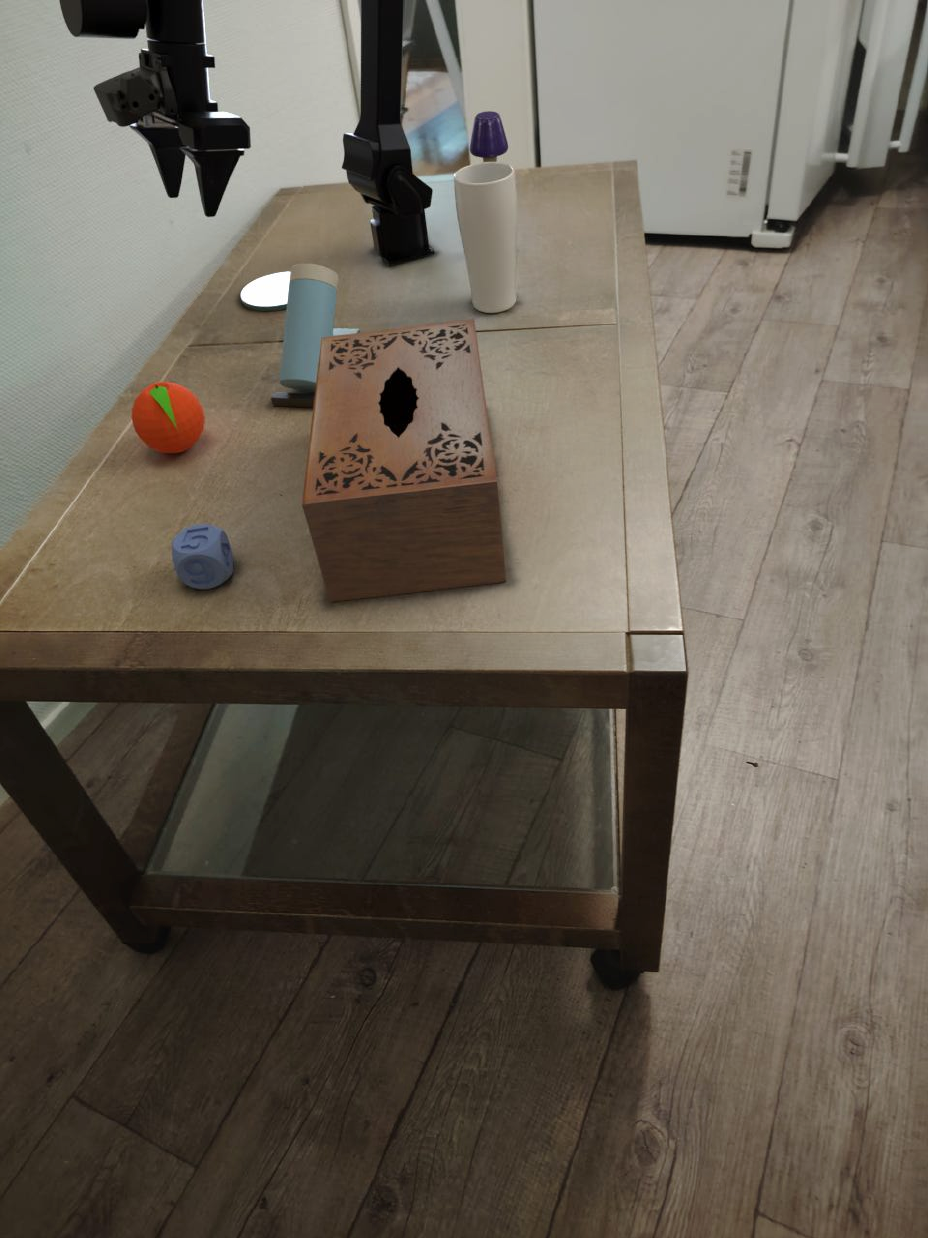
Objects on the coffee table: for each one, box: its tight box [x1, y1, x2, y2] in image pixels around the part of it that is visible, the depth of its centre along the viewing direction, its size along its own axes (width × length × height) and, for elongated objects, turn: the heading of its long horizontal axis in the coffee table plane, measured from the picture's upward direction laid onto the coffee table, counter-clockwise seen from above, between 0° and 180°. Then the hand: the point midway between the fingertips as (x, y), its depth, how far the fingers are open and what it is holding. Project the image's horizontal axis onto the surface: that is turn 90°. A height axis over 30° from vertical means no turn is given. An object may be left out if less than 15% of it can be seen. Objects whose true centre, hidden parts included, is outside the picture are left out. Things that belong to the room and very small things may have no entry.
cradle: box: [270, 327, 361, 409], centre depth 97 cm, size 11×7×4 cm, turn 166°
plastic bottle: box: [278, 263, 339, 393], centre depth 94 cm, size 12×5×12 cm, turn 166°
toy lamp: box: [469, 110, 509, 163], centre depth 111 cm, size 5×5×17 cm
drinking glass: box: [453, 161, 518, 314], centre depth 102 cm, size 7×7×15 cm
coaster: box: [239, 271, 290, 312], centre depth 115 cm, size 10×10×1 cm
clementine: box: [131, 381, 206, 454], centre depth 89 cm, size 8×7×7 cm
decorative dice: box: [171, 523, 234, 590], centre depth 75 cm, size 4×4×4 cm
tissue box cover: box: [301, 318, 507, 603], centre depth 78 cm, size 26×14×10 cm, turn 3°
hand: (191, 206), depth 99 cm, fingers open, 9 cm apart
